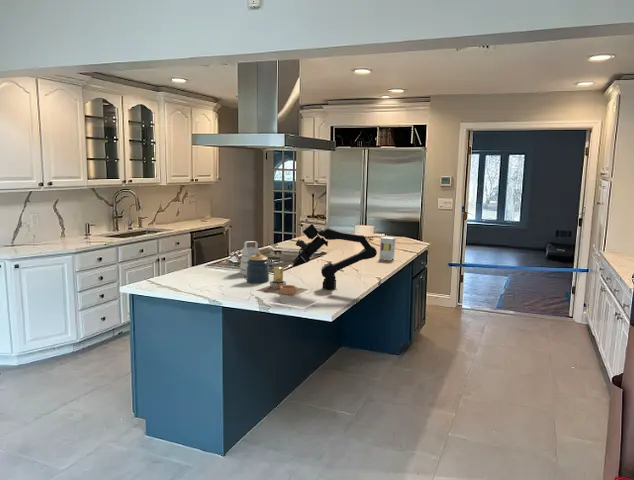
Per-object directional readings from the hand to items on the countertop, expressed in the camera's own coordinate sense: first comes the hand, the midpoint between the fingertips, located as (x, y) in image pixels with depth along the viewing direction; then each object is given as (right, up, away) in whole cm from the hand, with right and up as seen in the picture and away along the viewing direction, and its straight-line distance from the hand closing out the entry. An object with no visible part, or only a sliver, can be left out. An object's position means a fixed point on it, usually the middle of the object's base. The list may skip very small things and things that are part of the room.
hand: (293, 264), depth 279 cm
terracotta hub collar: (-2, -14, -9) cm, 17 cm away
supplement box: (+65, -2, +107) cm, 126 cm away
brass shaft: (-8, -13, +1) cm, 15 cm away
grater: (-29, -8, +40) cm, 50 cm away
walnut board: (-5, -14, -4) cm, 16 cm away
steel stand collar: (-8, -13, +1) cm, 15 cm away
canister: (-21, -11, +16) cm, 29 cm away
